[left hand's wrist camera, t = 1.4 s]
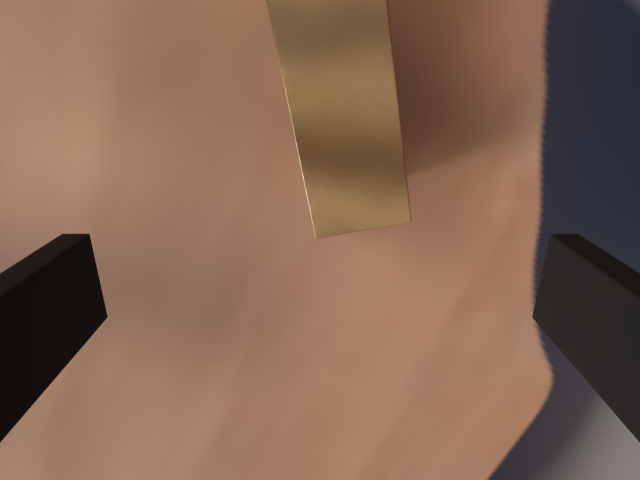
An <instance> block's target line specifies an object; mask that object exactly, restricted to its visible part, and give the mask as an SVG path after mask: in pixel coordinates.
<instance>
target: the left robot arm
mask: <svg viewBox="0 0 640 480" xmlns="http://www.w3.org/2000/svg"><path fill="white" fill-rule="evenodd" d="M106 318H107V312H106V308H105V303H104V299H103V294H102V289H101V285H100V280H99V276H98V271H97V267H96V262H95V258H94V253H93V248H92V244H91V239H90V235H89V234H62V235H60V236H58V237H57V238H55V239H54V240H52V241H51V242H49V243H47V244H46V245H44V246H43V247H41V248H40V249H38V250H37V251H35V252H33V253H32V254H30V255H29V256H27V257H26V258H24V259H22V260H21V261H19V262H18V263H16V264H15V265H13V266H11V267H10V268H8V269H7V270H5V271H4V272H2V273H0V442H1V441H2V440H3V439H4V437H5V436H6V435H7V434H8V433H9V432H10V430H11V429H12V428H13V427H14V426H15V425H16V423H17V422H18V421H19V420H20V419H21V418H22V416H23V415H24V414H25V413H26V412H27V411H28V409H29V408H30V407H31V406H32V405H33V404H34V402H35V401H36V400H37V399H38V398H39V397H40V395H41V394H42V393H43V392H44V391H45V390H46V388H47V387H48V386H49V385H50V384H51V383H52V381H53V380H54V379H55V378H56V377H57V376H58V374H59V373H60V372H61V371H62V370H63V369H64V367H65V366H66V365H67V364H68V363H69V362H70V360H71V359H72V358H73V357H74V356H75V355H76V353H77V352H78V351H79V350H80V349H81V348H82V346H83V345H84V344H85V343H86V342H87V341H88V339H89V338H90V337H91V336H92V335H93V334H94V332H95V331H96V330H97V329H98V328H99V327H100V325H101V324H102V323H103V322H104V321H105V320H106ZM533 318H534V320H535V321H536V322H537V323H538V324H539V325H540V327H541V328H542V329H543V330H544V331H545V332H546V334H547V335H548V336H549V337H550V338H551V339H552V341H553V342H554V343H555V344H556V345H557V346H558V348H559V349H560V350H561V351H562V352H563V353H564V355H565V356H566V357H567V358H568V359H569V360H570V362H571V363H572V364H573V365H574V366H575V367H576V369H577V370H578V371H579V372H580V373H581V374H582V376H583V377H584V378H585V379H586V380H587V381H588V383H589V384H590V385H591V386H592V387H593V388H594V390H595V391H596V392H597V393H598V394H599V395H600V397H601V398H602V399H603V400H604V401H605V402H606V404H607V405H608V406H609V407H610V408H611V409H612V411H613V412H614V413H615V414H616V415H617V416H618V418H619V419H620V420H621V421H622V422H623V423H624V425H625V426H626V427H627V428H628V429H629V430H630V432H631V433H632V434H633V435H634V436H635V437H636V439H637V440H638V441H639V442H640V274H639V273H638V272H636V271H635V270H633V269H632V268H630V267H628V266H627V265H625V264H624V263H622V262H621V261H619V260H618V259H616V258H614V257H613V256H611V255H610V254H608V253H607V252H605V251H603V250H602V249H600V248H599V247H597V246H596V245H594V244H593V243H591V242H589V241H588V240H586V239H585V238H583V237H582V236H580V235H578V234H551V235H550V240H549V244H548V249H547V253H546V258H545V262H544V267H543V271H542V276H541V280H540V285H539V290H538V294H537V299H536V303H535V308H534V312H533Z"/></svg>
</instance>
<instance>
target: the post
mask: <svg viewBox="0 0 640 480" xmlns="http://www.w3.org/2000/svg"><path fill="white" fill-rule="evenodd" d="M266 1H267V6H268V11H269V15H270V20H271V25H272V30H273V35H274V40H275V45H276V49H277V54H278V59H279V64H280V69H281V74H282V79H283V84H284V88H285V93H286V98H287V103H288V108H289V113H290V118H291V122H292V127H293V132H294V137H295V142H296V147H297V152H298V157H299V161H300V166H301V171H302V176H303V181H304V186H305V191H306V195H307V200H308V205H309V210H310V215H311V220H312V225H313V230H314V234H315V238H316V239H318V238H323V237H329V236H335V235H340V234H346V233H351V232H357V231H363V230H368V229H374V228H380V227H385V226H391V225H396V224H402V223H408V222H411V212H410V203H409V194H408V185H407V176H406V167H405V158H404V149H403V140H402V131H401V122H400V113H399V104H398V95H397V86H396V77H395V68H394V59H393V50H392V41H391V32H390V23H389V14H388V5H387V0H266Z"/></svg>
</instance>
